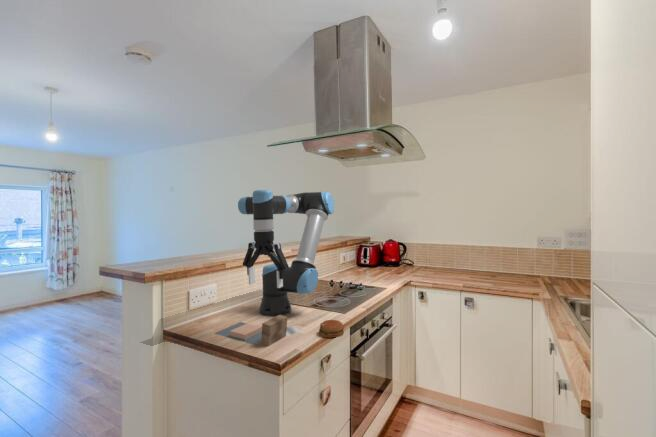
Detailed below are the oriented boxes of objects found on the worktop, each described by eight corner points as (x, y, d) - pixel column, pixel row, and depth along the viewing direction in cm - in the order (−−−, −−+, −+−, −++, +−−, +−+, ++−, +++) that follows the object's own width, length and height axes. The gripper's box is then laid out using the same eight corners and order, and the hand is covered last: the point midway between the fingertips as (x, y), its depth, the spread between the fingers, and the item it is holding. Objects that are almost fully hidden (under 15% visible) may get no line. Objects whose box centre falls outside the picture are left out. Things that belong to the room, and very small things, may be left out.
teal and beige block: (247, 323, 126) (229, 331, 118) (261, 326, 122) (245, 334, 114) (247, 328, 126) (230, 336, 118) (261, 332, 122) (245, 340, 114)
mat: (280, 332, 123) (280, 331, 123) (255, 346, 110) (255, 344, 110) (240, 323, 134) (240, 322, 134) (214, 334, 122) (214, 333, 122)
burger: (348, 335, 120) (348, 323, 120) (328, 341, 115) (328, 328, 115) (334, 327, 128) (333, 316, 128) (315, 332, 123) (314, 321, 123)
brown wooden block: (271, 348, 109) (272, 326, 108) (258, 343, 112) (259, 322, 111) (300, 330, 124) (301, 311, 124) (288, 326, 127) (289, 307, 127)
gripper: (296, 230, 115) (298, 286, 116) (245, 229, 127) (247, 280, 128) (284, 232, 109) (286, 291, 110) (232, 230, 120) (234, 284, 121)
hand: (265, 285), depth 119 cm, fingers open, 13 cm apart
